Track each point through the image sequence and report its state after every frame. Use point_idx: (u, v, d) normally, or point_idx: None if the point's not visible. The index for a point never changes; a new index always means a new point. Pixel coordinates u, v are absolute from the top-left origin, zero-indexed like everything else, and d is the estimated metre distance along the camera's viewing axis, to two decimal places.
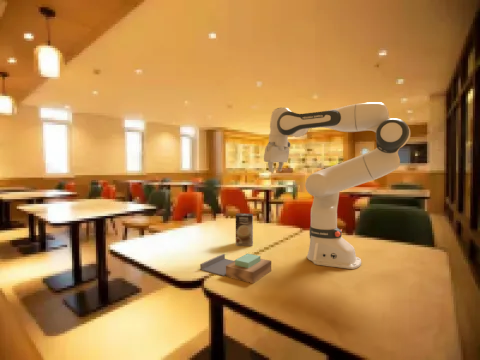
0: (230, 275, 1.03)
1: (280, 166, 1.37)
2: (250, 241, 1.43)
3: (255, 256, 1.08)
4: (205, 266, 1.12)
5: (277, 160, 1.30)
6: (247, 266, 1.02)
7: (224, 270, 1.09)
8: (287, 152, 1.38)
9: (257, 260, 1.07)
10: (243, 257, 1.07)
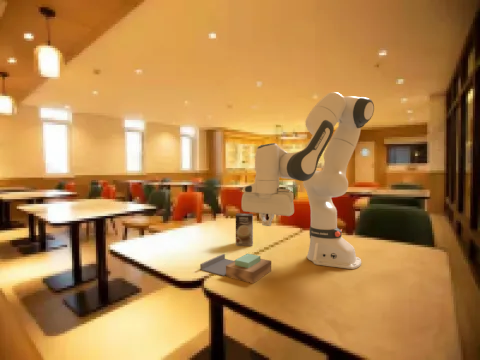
0: (230, 275, 1.03)
1: (264, 218, 1.02)
2: (250, 241, 1.43)
3: (255, 256, 1.08)
4: (205, 266, 1.12)
5: None
6: (247, 266, 1.02)
7: (224, 270, 1.09)
8: None
9: (257, 260, 1.07)
10: (243, 257, 1.07)
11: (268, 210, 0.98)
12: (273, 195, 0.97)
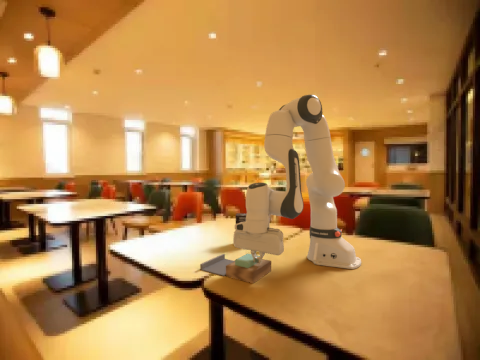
0: (230, 275, 1.03)
1: (255, 255, 1.05)
2: None
3: None
4: (205, 266, 1.12)
5: None
6: (247, 266, 1.02)
7: (224, 270, 1.09)
8: None
9: None
10: (243, 257, 1.07)
11: (259, 249, 1.01)
12: (263, 234, 1.00)
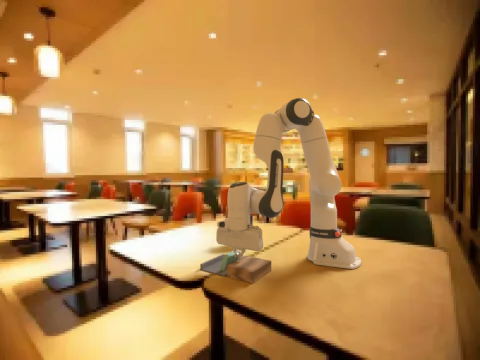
0: (230, 275, 1.03)
1: (237, 251, 1.09)
2: None
3: None
4: (205, 266, 1.12)
5: None
6: (226, 258, 1.07)
7: None
8: None
9: None
10: None
11: (240, 245, 1.06)
12: (244, 231, 1.05)
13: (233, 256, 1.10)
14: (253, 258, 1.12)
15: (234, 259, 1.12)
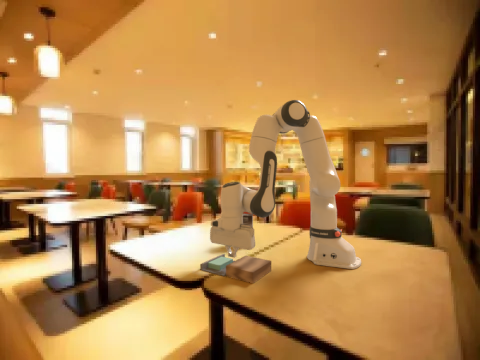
0: (230, 275, 1.03)
1: (230, 250, 1.12)
2: None
3: None
4: (205, 266, 1.12)
5: None
6: (208, 264, 1.12)
7: (224, 270, 1.09)
8: None
9: None
10: None
11: (233, 244, 1.08)
12: (236, 230, 1.07)
13: (216, 259, 1.16)
14: (253, 258, 1.12)
15: (221, 259, 1.16)
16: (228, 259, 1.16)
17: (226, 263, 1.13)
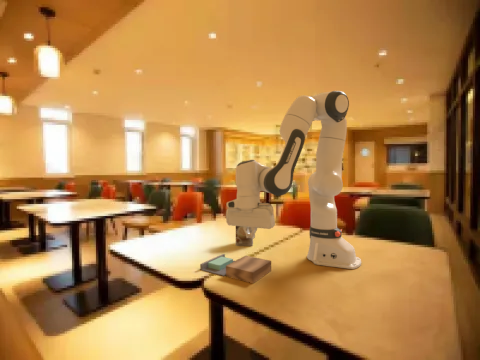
0: (230, 275, 1.03)
1: (248, 231, 1.07)
2: (250, 241, 1.43)
3: None
4: (205, 266, 1.12)
5: None
6: (208, 264, 1.12)
7: (224, 270, 1.09)
8: None
9: None
10: None
11: (251, 224, 1.04)
12: (254, 209, 1.02)
13: (216, 259, 1.16)
14: (253, 258, 1.12)
15: (221, 259, 1.16)
16: (228, 259, 1.16)
17: (226, 263, 1.13)
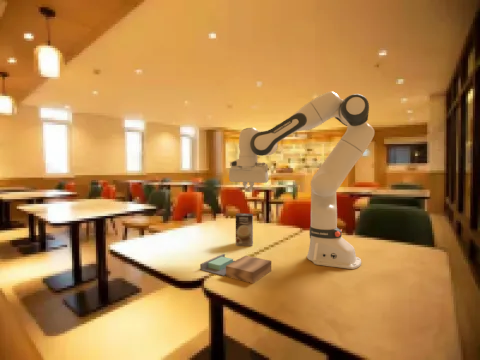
0: (230, 275, 1.03)
1: (246, 186, 1.32)
2: (250, 241, 1.43)
3: None
4: (205, 266, 1.12)
5: None
6: (208, 264, 1.12)
7: (224, 270, 1.09)
8: None
9: None
10: None
11: (249, 179, 1.29)
12: (252, 167, 1.27)
13: (216, 259, 1.16)
14: (253, 258, 1.12)
15: (221, 259, 1.16)
16: (228, 259, 1.16)
17: (226, 263, 1.13)
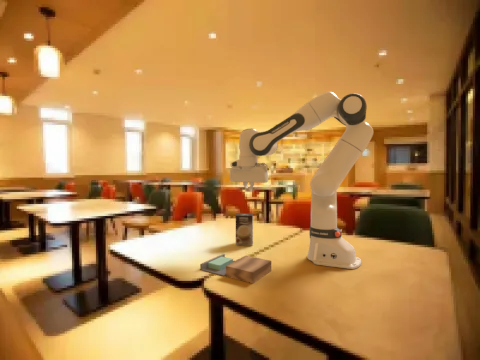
0: (230, 275, 1.03)
1: (246, 186, 1.34)
2: (250, 241, 1.43)
3: None
4: (205, 266, 1.12)
5: None
6: (208, 264, 1.12)
7: (224, 270, 1.09)
8: None
9: None
10: None
11: (249, 179, 1.31)
12: (252, 167, 1.29)
13: (216, 259, 1.16)
14: (253, 258, 1.12)
15: (221, 259, 1.16)
16: (228, 259, 1.16)
17: (226, 263, 1.13)
